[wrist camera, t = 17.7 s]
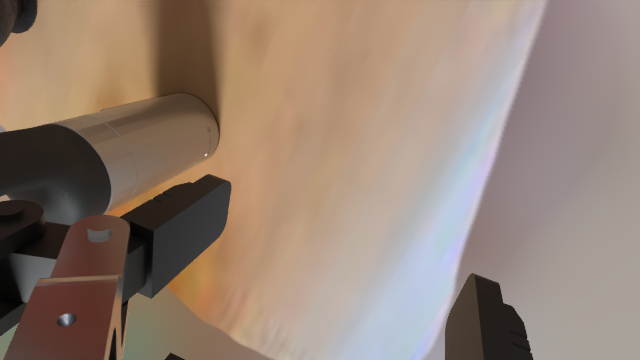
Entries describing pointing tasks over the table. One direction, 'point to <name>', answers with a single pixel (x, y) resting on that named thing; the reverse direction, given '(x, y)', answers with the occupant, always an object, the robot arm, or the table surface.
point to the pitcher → (16, 17)
